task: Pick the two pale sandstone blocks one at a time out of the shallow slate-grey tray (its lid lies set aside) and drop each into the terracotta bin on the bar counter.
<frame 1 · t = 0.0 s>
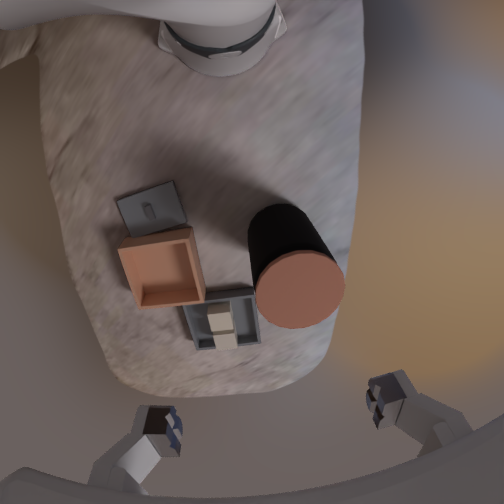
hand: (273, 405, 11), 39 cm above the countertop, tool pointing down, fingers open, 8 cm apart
coffee jar: (279, 231, 50), on the countertop
terracotta bin: (166, 263, 51), on the countertop
tray lid: (152, 209, 47), on the countertop
stone a: (221, 308, 56), point 1 cm above the countertop, touching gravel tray
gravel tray: (223, 316, 57), on the countertop
stone b: (225, 328, 58), point 1 cm above the countertop, touching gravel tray
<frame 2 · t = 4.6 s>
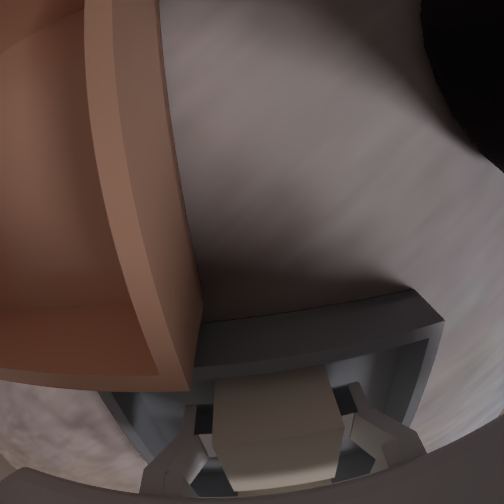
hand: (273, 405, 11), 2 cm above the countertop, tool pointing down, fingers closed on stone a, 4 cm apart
coffee jar: (494, 64, 8), on the countertop
terracotta bin: (28, 173, 9), on the countertop
stone a: (271, 389, 12), point 1 cm above the countertop, touching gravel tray, gripper
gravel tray: (274, 412, 14), on the countertop
stone b: (278, 445, 14), point 1 cm above the countertop, touching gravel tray
when the fingers open (6 cm above the countertop, at t = 8.4 s): stone a drops 5 cm, resting on terracotta bin.
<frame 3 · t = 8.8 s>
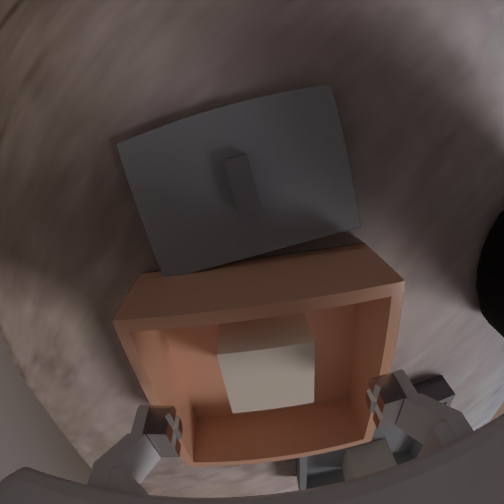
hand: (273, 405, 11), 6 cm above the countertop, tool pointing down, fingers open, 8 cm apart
terracotta bin: (265, 350, 18), on the countertop
tray lid: (242, 179, 14), on the countertop
stone a: (262, 330, 16), point 1 cm above the countertop, touching terracotta bin
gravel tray: (365, 436, 22), on the countertop
stone b: (363, 453, 23), point 1 cm above the countertop, touching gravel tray
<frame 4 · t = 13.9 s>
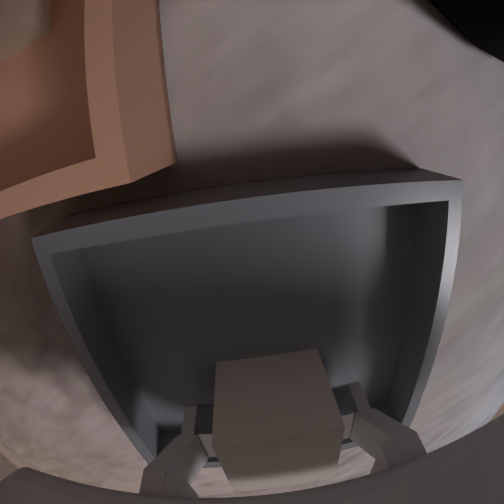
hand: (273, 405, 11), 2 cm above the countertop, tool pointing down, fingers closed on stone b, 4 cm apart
terracotta bin: (19, 57, 7), on the countertop
stone a: (14, 16, 6), point 1 cm above the countertop, touching terracotta bin
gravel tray: (264, 336, 12), on the countertop
stone b: (271, 389, 12), point 1 cm above the countertop, touching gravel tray, gripper
when the fingers open (6 cm above the countertop, at t = 17.8 s): stone b drops 5 cm, resting on terracotta bin.
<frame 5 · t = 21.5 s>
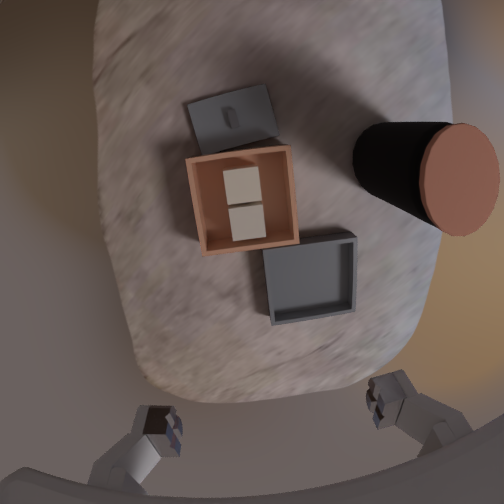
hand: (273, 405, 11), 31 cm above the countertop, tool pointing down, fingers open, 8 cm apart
coffee jar: (382, 159, 38), on the countertop
terracotta bin: (243, 194, 39), on the countertop
tray lid: (233, 119, 35), on the countertop
stone a: (241, 180, 38), point 1 cm above the countertop, touching terracotta bin
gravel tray: (309, 276, 44), on the countertop
stone b: (246, 214, 39), point 1 cm above the countertop, touching terracotta bin
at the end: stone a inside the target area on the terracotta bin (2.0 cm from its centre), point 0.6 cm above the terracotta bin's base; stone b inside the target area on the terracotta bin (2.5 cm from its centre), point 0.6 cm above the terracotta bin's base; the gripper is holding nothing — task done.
